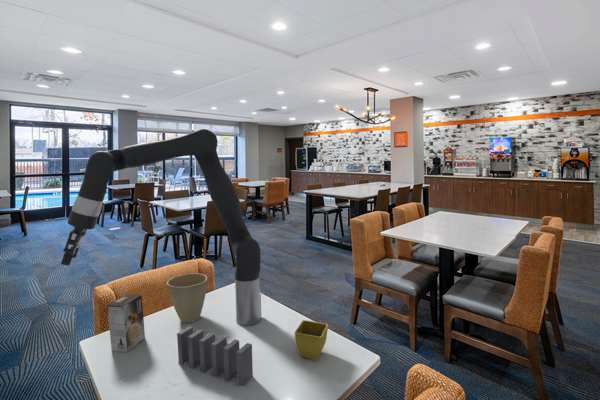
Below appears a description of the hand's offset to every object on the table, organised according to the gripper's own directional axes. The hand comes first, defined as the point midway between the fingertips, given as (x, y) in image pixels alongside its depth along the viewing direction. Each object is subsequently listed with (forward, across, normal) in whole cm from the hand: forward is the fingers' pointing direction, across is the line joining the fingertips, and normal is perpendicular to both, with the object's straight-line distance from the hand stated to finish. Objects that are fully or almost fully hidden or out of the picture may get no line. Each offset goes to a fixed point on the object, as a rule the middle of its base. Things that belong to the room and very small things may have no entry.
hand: (68, 260), depth 105 cm
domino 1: (+18, -18, -41) cm, 48 cm away
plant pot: (+17, +11, -45) cm, 49 cm away
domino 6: (+13, -35, -55) cm, 66 cm away
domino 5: (+14, -32, -52) cm, 62 cm away
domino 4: (+15, -28, -50) cm, 59 cm away
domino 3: (+16, -25, -47) cm, 55 cm away
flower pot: (+5, -31, -76) cm, 82 cm away
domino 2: (+17, -21, -44) cm, 52 cm away
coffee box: (+24, 0, -25) cm, 35 cm away
